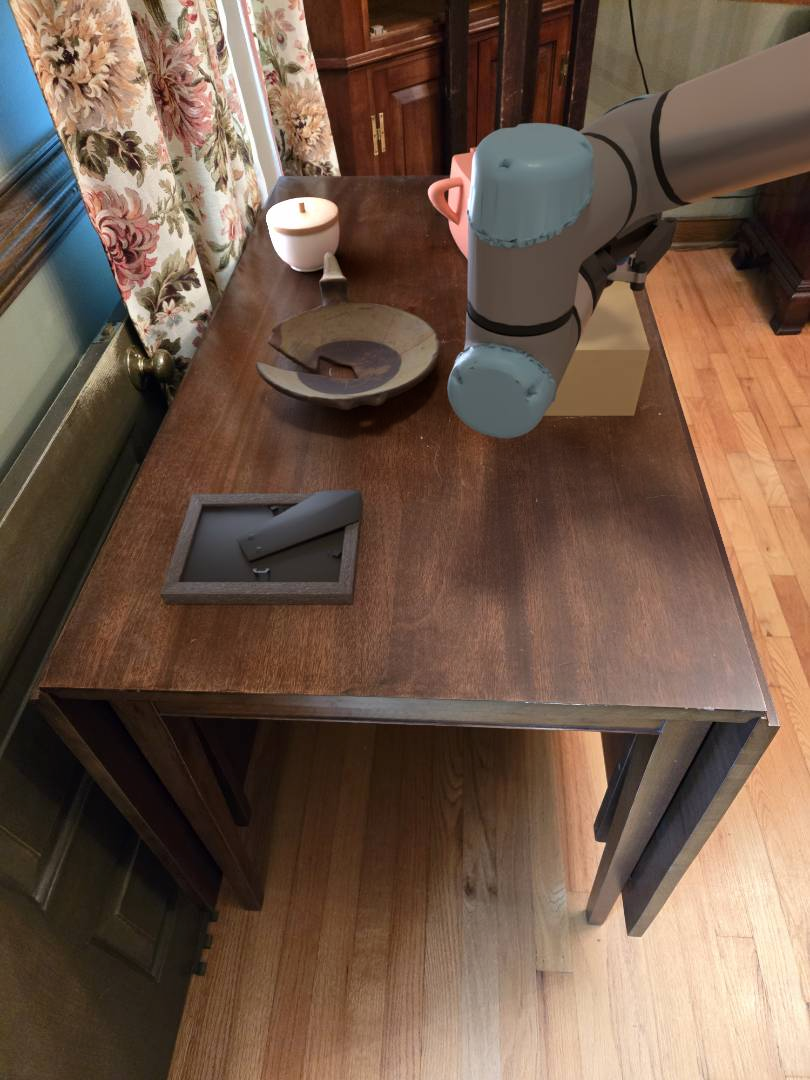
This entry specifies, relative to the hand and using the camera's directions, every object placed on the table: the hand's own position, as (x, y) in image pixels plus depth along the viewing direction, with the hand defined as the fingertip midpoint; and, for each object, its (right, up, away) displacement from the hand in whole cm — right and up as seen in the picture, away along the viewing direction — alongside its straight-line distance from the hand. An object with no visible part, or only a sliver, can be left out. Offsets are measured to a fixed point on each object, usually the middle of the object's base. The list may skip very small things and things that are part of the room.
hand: (610, 190), depth 75 cm
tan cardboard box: (-1, -15, +16) cm, 22 cm away
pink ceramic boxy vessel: (-7, +12, +41) cm, 43 cm away
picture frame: (-35, -37, -2) cm, 51 cm away
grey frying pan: (-27, -14, +19) cm, 36 cm away
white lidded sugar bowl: (-36, +7, +38) cm, 53 cm away
